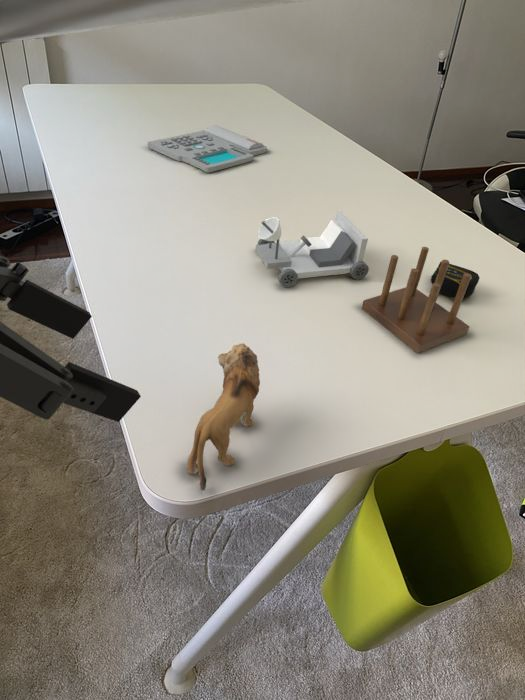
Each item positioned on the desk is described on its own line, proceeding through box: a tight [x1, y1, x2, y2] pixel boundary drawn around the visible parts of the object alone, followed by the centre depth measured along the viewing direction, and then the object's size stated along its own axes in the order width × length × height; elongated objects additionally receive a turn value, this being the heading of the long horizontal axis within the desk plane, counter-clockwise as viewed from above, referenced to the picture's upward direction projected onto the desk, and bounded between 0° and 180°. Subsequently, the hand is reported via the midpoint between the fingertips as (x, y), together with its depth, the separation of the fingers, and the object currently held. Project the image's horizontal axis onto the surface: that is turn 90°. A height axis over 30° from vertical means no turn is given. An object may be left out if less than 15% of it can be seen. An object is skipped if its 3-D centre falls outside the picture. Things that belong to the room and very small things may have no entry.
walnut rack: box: [361, 246, 471, 354], centre depth 79 cm, size 12×10×10 cm
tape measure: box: [430, 260, 480, 300], centre depth 88 cm, size 7×7×4 cm
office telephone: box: [146, 124, 268, 173], centre depth 129 cm, size 23×3×20 cm
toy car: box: [255, 210, 370, 288], centre depth 88 cm, size 18×10×12 cm
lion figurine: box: [186, 343, 261, 491], centre depth 58 cm, size 15×5×9 cm, turn 167°
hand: (102, 362), depth 46 cm, fingers open, 11 cm apart
